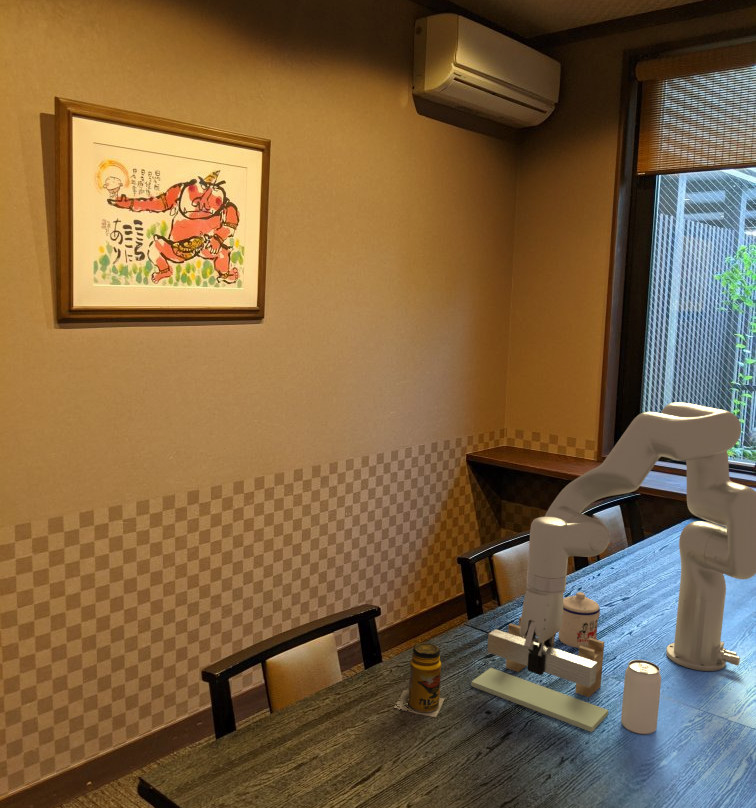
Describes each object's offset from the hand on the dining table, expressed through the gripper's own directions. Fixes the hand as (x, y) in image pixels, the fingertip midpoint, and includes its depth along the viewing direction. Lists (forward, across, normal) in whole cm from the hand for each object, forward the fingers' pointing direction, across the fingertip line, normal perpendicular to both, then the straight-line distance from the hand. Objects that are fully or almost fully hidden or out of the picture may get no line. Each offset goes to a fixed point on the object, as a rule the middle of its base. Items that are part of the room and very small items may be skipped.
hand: (539, 668), depth 158 cm
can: (+7, -4, +19) cm, 21 cm away
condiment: (+7, +17, -17) cm, 25 cm away
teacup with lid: (+7, -33, -5) cm, 34 cm away
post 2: (+7, -11, +6) cm, 14 cm away
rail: (0, 0, 0) cm, 0 cm away
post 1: (+7, -11, -10) cm, 16 cm away
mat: (+7, 0, 0) cm, 7 cm away
